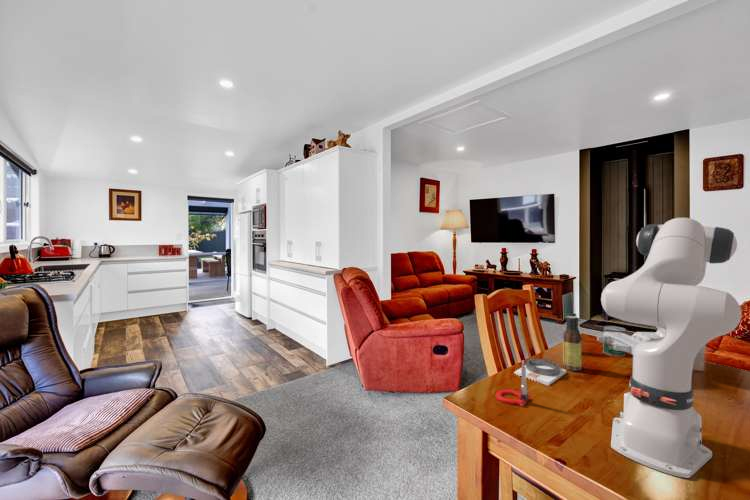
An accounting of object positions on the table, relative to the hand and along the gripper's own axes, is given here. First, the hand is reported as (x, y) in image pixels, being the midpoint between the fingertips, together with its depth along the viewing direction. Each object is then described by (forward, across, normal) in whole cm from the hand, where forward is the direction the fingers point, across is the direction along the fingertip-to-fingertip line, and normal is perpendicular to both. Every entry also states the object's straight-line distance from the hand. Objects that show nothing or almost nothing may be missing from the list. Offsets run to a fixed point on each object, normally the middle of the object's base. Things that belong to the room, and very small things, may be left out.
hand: (605, 343), depth 125 cm
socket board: (+26, +6, +10) cm, 29 cm away
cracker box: (-35, -7, +10) cm, 37 cm away
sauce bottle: (+12, 0, +10) cm, 16 cm away
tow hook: (+43, +26, +10) cm, 51 cm away
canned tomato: (-15, -18, +10) cm, 26 cm away
